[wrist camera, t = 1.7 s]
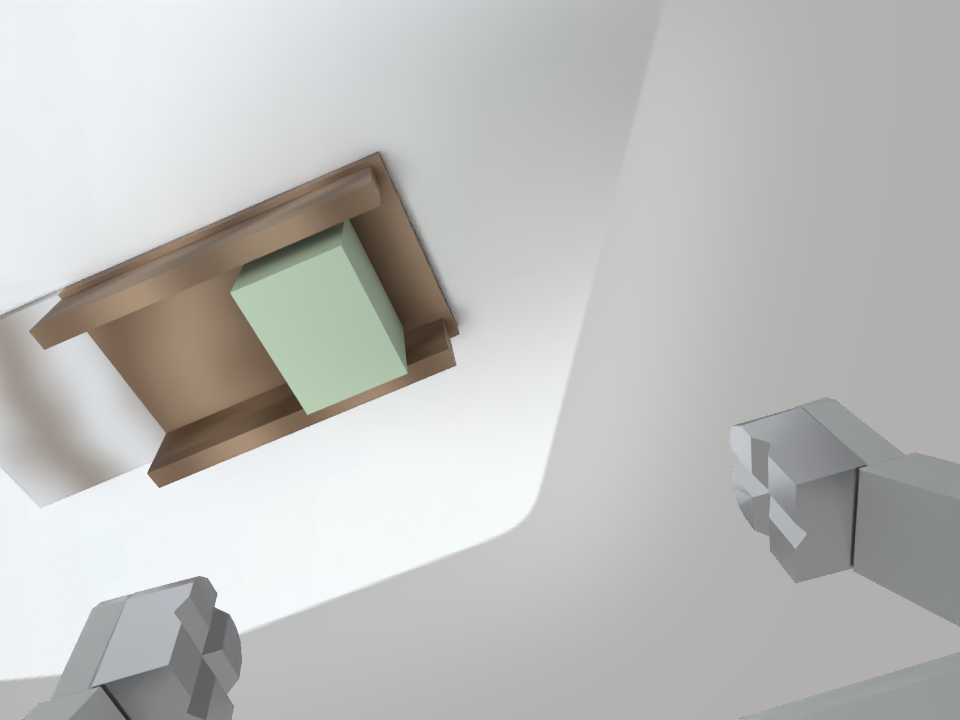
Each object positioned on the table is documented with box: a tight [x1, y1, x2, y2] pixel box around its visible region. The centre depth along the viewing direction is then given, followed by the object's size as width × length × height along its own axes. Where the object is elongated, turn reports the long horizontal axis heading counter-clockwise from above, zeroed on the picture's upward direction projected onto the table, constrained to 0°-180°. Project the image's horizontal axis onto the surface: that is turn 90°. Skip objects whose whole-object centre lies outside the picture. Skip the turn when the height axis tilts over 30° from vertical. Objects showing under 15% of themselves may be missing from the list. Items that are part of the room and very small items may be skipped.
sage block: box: [230, 219, 408, 415], centre depth 31 cm, size 5×7×5 cm
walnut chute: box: [0, 152, 459, 508], centre depth 33 cm, size 25×10×4 cm, turn 111°
